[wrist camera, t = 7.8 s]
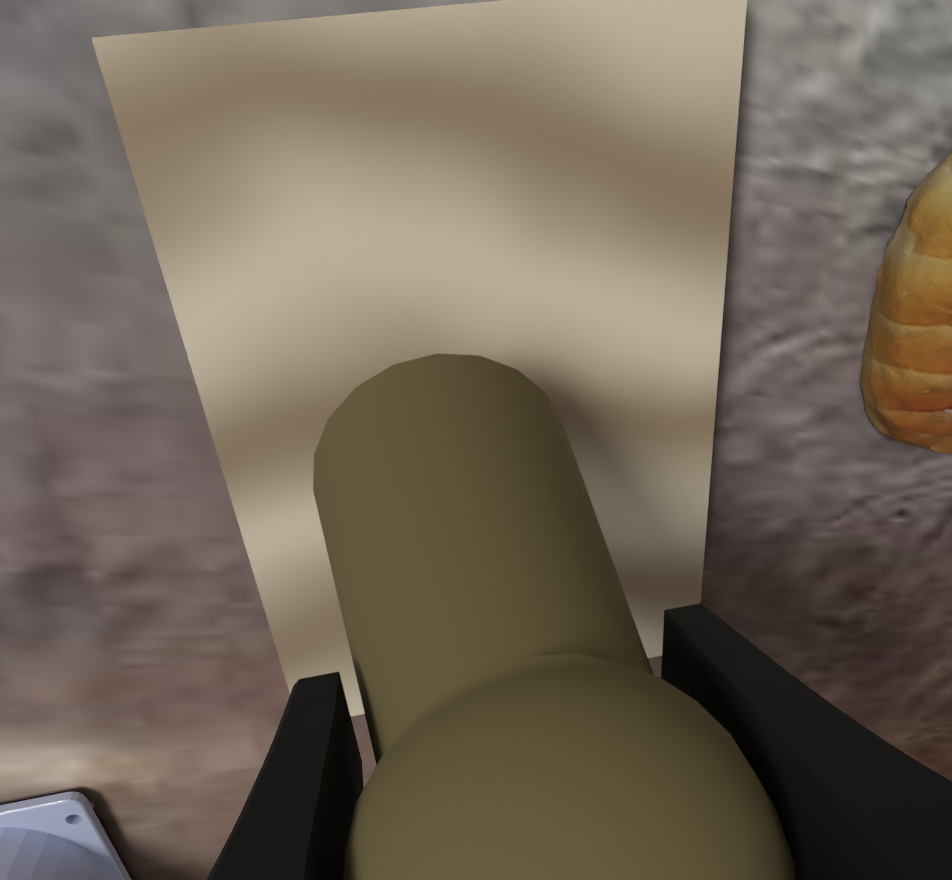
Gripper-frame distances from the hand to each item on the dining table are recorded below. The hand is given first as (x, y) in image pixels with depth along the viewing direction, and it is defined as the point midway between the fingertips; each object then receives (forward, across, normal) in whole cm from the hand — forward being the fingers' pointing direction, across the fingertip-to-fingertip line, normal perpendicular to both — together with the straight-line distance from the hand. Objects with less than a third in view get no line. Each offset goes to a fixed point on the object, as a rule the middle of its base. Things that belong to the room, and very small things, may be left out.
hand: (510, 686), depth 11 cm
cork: (+6, 0, 0) cm, 6 cm away
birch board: (+10, -1, 0) cm, 10 cm away
